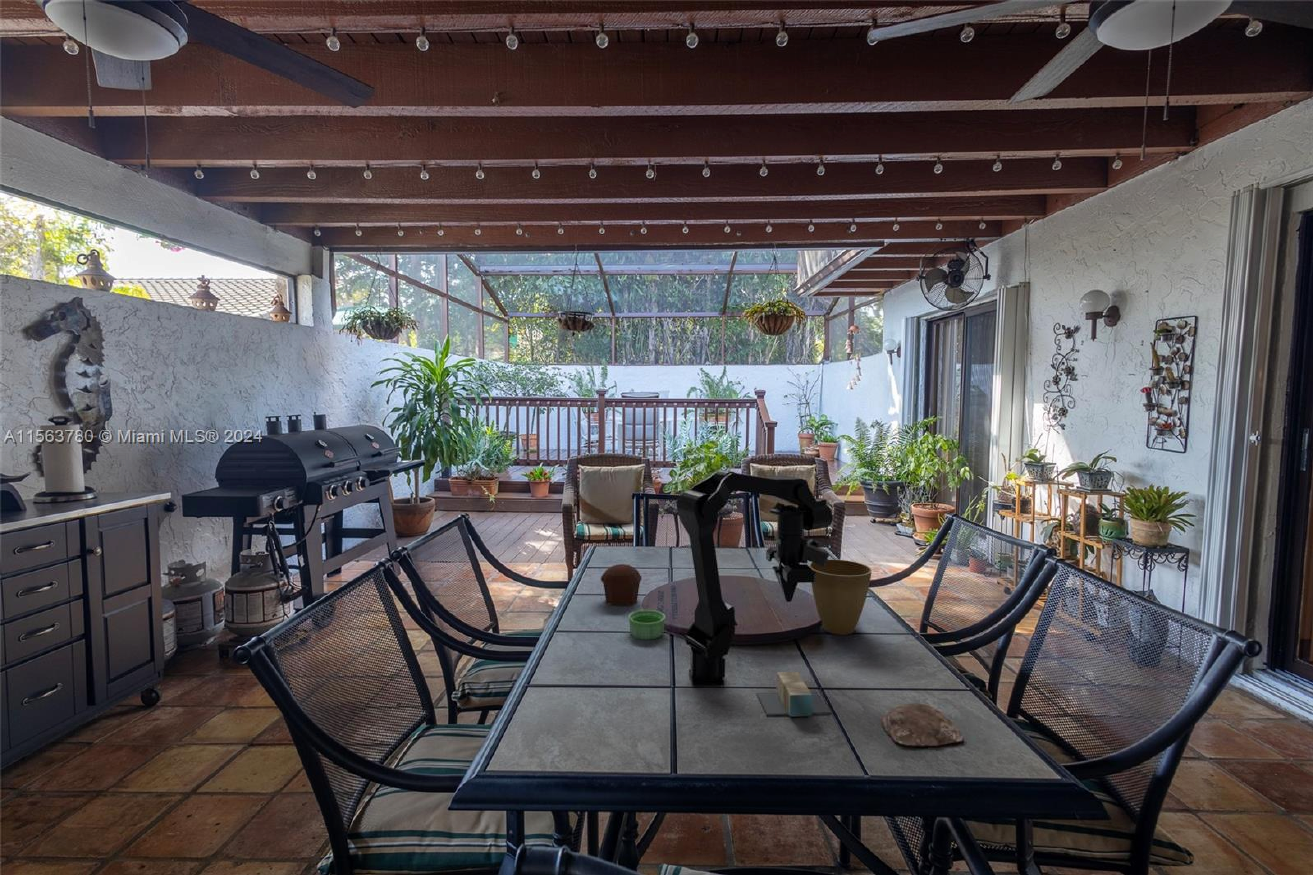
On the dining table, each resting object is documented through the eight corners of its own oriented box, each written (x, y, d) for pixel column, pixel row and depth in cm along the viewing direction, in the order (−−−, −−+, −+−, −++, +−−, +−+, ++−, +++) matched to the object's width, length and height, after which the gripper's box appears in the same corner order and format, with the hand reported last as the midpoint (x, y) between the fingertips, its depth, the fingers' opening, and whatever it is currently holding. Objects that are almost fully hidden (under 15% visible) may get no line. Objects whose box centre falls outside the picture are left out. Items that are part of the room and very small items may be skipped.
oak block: (790, 695, 111) (777, 672, 120) (789, 716, 112) (776, 692, 121) (812, 694, 112) (797, 672, 121) (811, 715, 112) (796, 691, 121)
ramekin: (664, 641, 145) (665, 623, 145) (627, 640, 146) (627, 623, 145) (665, 626, 154) (665, 609, 154) (629, 626, 154) (629, 609, 154)
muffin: (624, 591, 180) (624, 557, 180) (649, 601, 172) (650, 566, 171) (592, 600, 172) (592, 565, 172) (616, 611, 164) (617, 575, 163)
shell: (869, 715, 114) (870, 696, 114) (934, 712, 115) (935, 694, 115) (898, 751, 103) (899, 731, 102) (971, 748, 104) (972, 728, 103)
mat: (766, 716, 113) (766, 714, 112) (756, 694, 120) (756, 692, 120) (830, 714, 113) (830, 712, 113) (816, 692, 121) (816, 690, 121)
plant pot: (881, 632, 151) (884, 569, 150) (842, 646, 143) (844, 579, 142) (833, 613, 164) (835, 555, 162) (794, 625, 155) (796, 564, 154)
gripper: (841, 543, 127) (838, 616, 128) (812, 523, 146) (810, 587, 147) (788, 543, 126) (786, 617, 128) (766, 523, 145) (764, 587, 146)
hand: (788, 601), depth 137 cm, fingers closed
